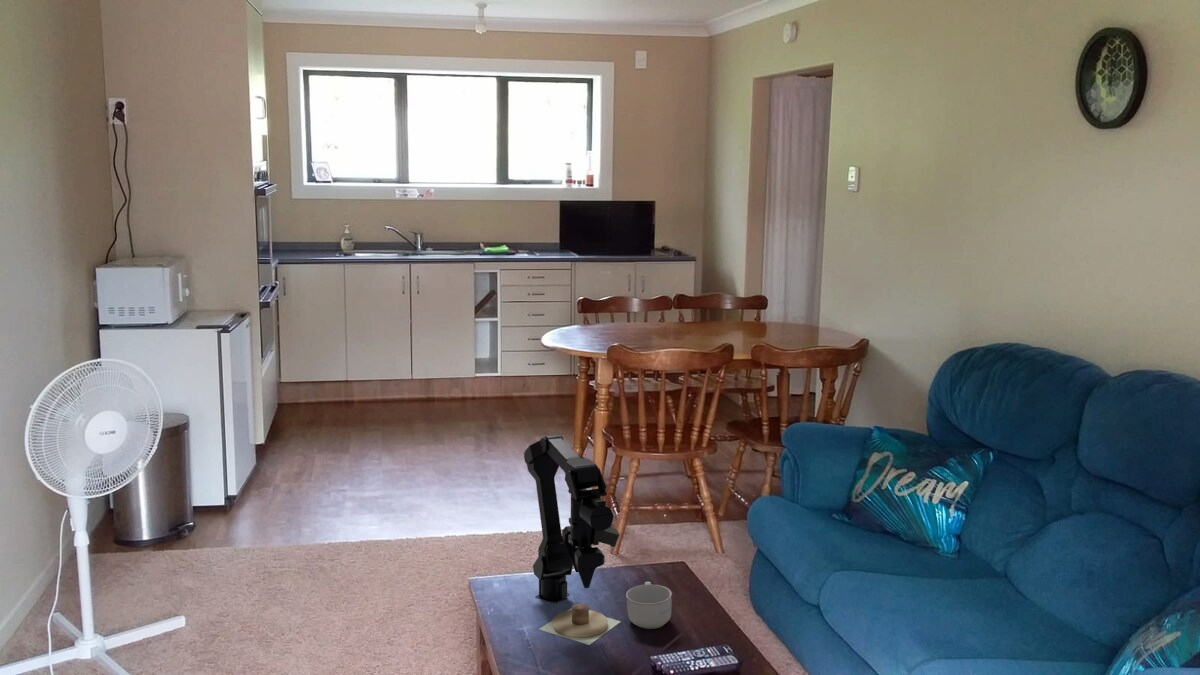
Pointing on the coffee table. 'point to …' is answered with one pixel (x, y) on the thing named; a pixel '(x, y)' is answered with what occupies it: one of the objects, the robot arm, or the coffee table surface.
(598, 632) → the oak lid
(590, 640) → the sage mat
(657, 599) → the teacup
